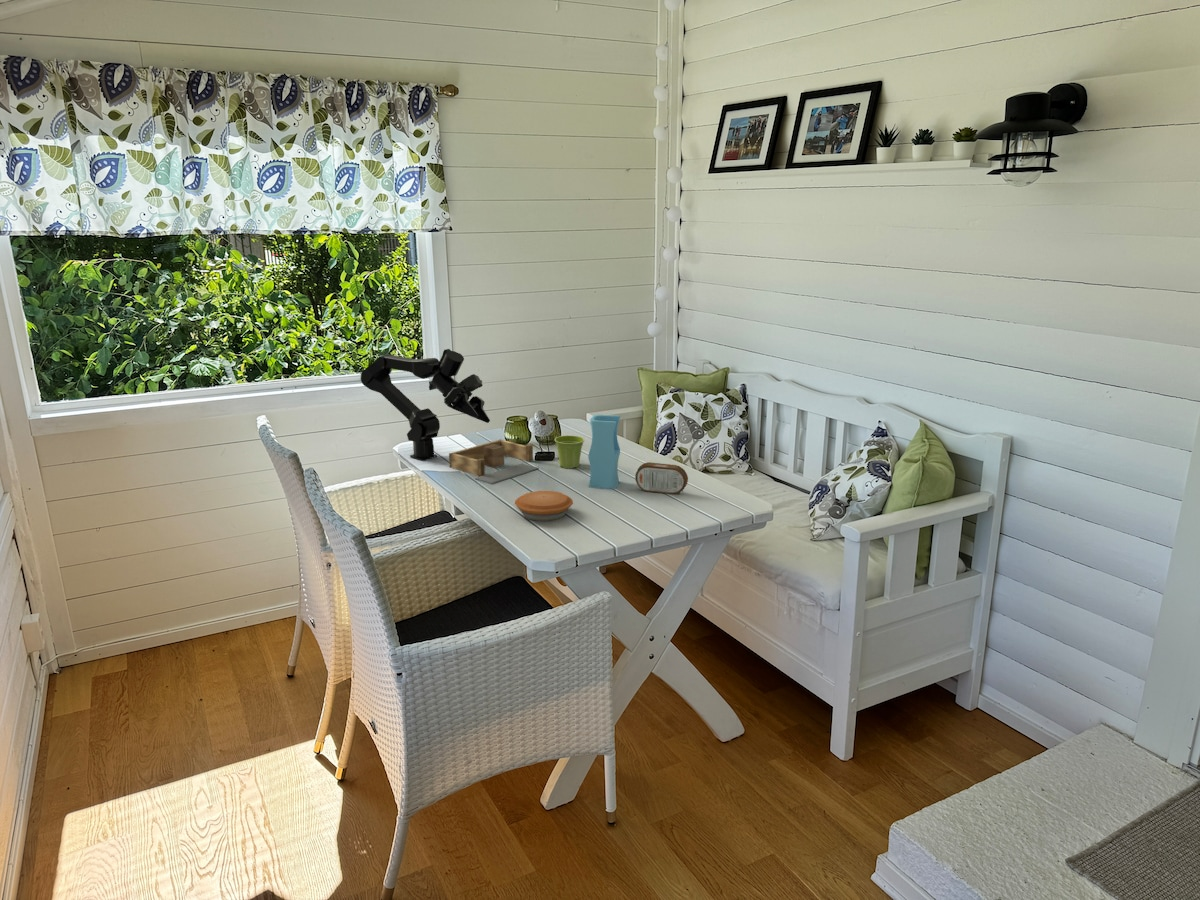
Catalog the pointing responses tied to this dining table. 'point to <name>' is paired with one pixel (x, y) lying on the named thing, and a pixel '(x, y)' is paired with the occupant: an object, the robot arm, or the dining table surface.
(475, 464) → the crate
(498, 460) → the block
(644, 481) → the tin
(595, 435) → the wavy blue tube
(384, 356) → the robot arm
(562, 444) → the plant pot
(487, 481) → the mat
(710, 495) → the dining table surface
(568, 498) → the pie
